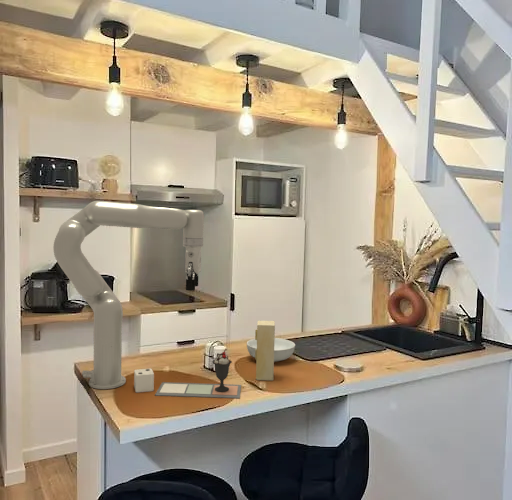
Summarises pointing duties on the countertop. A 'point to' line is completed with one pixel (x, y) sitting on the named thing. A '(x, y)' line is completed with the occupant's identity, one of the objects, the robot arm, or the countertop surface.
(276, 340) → the serving bowl
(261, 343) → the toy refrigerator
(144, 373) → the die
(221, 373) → the sundae
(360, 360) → the countertop surface
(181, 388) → the game board
